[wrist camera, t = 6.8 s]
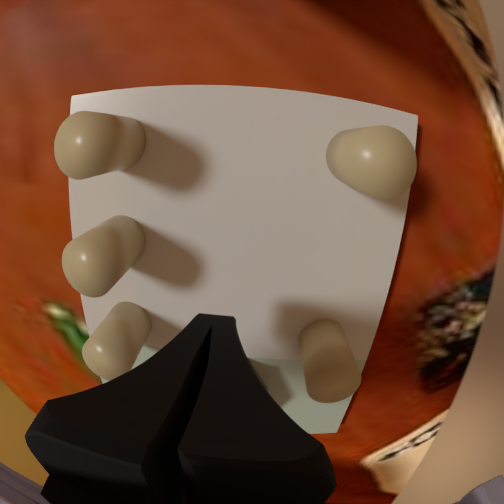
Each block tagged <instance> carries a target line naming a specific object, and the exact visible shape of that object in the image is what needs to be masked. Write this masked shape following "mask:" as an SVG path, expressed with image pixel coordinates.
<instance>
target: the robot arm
mask: <svg viewBox="0 0 504 504" xmlns="http://www.w3.org/2000/svg"><path fill="white" fill-rule="evenodd" d="M25 439H26V443H27V445H28V447H29V449H30V450H31V452H32V453H33V455H34V456H35V457H36V459H37V460H38V461H39V462H40V463H41V465H42V466H43V467H44V469H45V470H46V471H47V472H48V473H49V477H48V478H47V481H46V483H45V485H44V487H43V486H41V485H39V484H37V483H35V482H33V481H32V480H30V479H28V478H26V477H24V476H23V475H21V474H19V473H17V472H16V471H14V470H12V469H11V468H9V467H7V466H6V465H4V464H3V463H1V462H0V504H325V502H326V501H327V500H328V498H329V497H330V496H331V494H332V493H333V492H334V490H335V487H336V485H337V484H336V478H335V473H334V470H333V467H332V464H331V461H330V459H329V456H328V454H327V452H326V450H325V448H324V446H323V444H322V443H320V442H319V441H318V440H316V439H315V438H314V437H312V436H311V435H310V434H309V433H307V432H306V431H305V430H303V429H302V428H301V427H300V426H299V425H298V424H297V423H296V422H295V421H294V420H292V419H291V418H290V417H289V416H288V415H287V414H286V413H285V411H284V410H283V409H282V408H281V407H280V406H279V405H278V404H277V403H276V401H275V400H274V399H273V398H272V397H271V395H270V394H269V393H268V391H267V390H266V389H265V387H264V386H263V384H262V383H261V381H260V380H259V378H258V377H257V375H256V374H255V372H254V370H253V368H252V366H251V364H250V362H249V361H248V358H247V356H246V354H245V352H244V349H243V347H242V344H241V342H240V339H239V335H238V332H237V327H236V319H235V318H234V317H233V316H224V315H213V314H203V313H199V314H197V315H196V316H195V317H194V318H193V319H192V320H191V321H190V322H189V324H188V325H187V326H186V327H185V328H184V329H183V330H182V331H181V332H180V333H178V334H177V335H176V336H175V337H174V338H173V339H172V340H171V341H170V342H169V343H168V344H166V345H165V346H164V347H163V348H162V349H160V350H159V351H158V352H157V353H155V354H154V355H153V356H152V357H150V358H149V359H147V360H146V361H145V362H143V363H142V364H140V365H138V366H137V367H135V368H134V369H132V370H130V371H128V372H126V373H124V374H122V375H120V376H118V377H116V378H114V379H112V380H110V381H108V382H106V383H104V384H101V385H99V386H96V387H94V388H91V389H88V390H85V391H82V392H79V393H76V394H72V395H68V396H64V397H60V398H56V399H51V400H48V401H47V402H46V403H45V404H44V406H43V407H42V409H41V410H40V411H39V413H38V415H37V416H36V418H35V419H34V421H33V422H32V424H31V426H30V427H29V429H28V431H27V432H26V434H25ZM453 504H504V478H503V476H502V475H499V476H497V477H495V478H493V479H491V480H489V481H487V482H485V483H483V484H481V485H479V486H477V487H476V488H474V489H472V490H471V491H470V492H469V493H467V494H466V495H465V496H464V497H463V498H462V499H461V500H460V501H458V502H456V503H453Z"/></svg>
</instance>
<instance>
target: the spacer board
mask: <svg viewBox="0 0 504 504" xmlns="http://www.w3.org/2000/svg"><path fill="white" fill-rule="evenodd" d="M417 124H418V116H417V115H413V114H410V113H406V112H403V111H399V110H395V109H391V108H387V107H383V106H379V105H374V104H370V103H365V102H361V101H356V100H351V99H346V98H340V97H334V96H329V95H322V94H316V93H309V92H301V91H293V90H284V89H274V88H263V87H248V86H227V85H174V86H153V87H139V88H128V89H118V90H109V91H102V92H94V93H88V94H81V95H76V96H72V99H71V110H70V116H69V117H68V118H67V119H66V120H65V121H64V122H63V123H62V124H61V126H60V128H59V130H58V132H57V134H56V138H55V143H54V154H55V159H56V162H57V164H58V166H59V168H60V170H61V171H62V172H63V173H64V174H65V175H66V176H68V177H69V200H70V216H71V228H72V238H73V240H72V241H70V242H69V243H68V244H67V245H66V247H65V249H64V251H63V255H62V267H63V271H64V274H65V276H66V278H67V280H68V281H69V283H70V284H71V285H72V287H73V288H74V289H75V290H77V291H78V292H79V293H80V294H81V300H82V305H83V310H84V315H85V319H86V324H87V328H88V332H89V337H90V338H89V339H88V340H87V342H86V343H85V344H84V346H83V348H82V355H83V358H84V361H85V363H86V364H87V366H88V367H89V368H90V369H91V370H92V371H93V372H94V373H95V374H97V375H98V376H100V377H101V380H102V383H103V384H104V383H106V382H108V381H110V380H112V379H114V378H116V377H118V376H120V375H122V374H124V373H126V372H128V371H130V370H132V369H134V368H135V367H137V366H138V365H140V364H142V363H143V362H145V361H146V360H147V359H149V358H150V357H152V356H153V355H154V354H155V353H157V352H158V351H159V350H160V349H162V348H163V347H164V346H165V345H166V344H168V343H169V342H170V341H171V340H172V339H173V338H174V337H175V336H176V335H177V334H178V333H180V332H181V331H182V330H183V329H184V328H185V327H186V326H187V325H188V324H189V322H190V321H191V320H192V319H193V318H194V317H195V316H196V315H197V314H199V313H203V314H213V315H224V316H233V317H234V318H235V319H236V327H237V332H238V335H239V339H240V342H241V344H242V347H243V349H244V352H245V354H246V356H247V357H248V359H249V360H250V362H251V363H252V365H253V366H254V368H255V370H256V371H257V373H258V374H259V376H260V377H261V379H262V380H263V382H264V383H265V385H266V386H267V388H268V393H269V394H270V395H271V397H272V398H273V399H274V400H275V401H276V403H277V404H278V405H279V406H280V407H281V408H282V409H283V410H284V411H285V413H286V414H287V415H288V416H289V417H290V418H291V419H292V420H294V421H295V422H296V423H297V424H298V425H299V426H300V427H301V428H302V429H303V430H305V431H306V432H307V433H309V434H315V433H336V432H337V430H338V428H339V426H340V424H341V421H342V419H343V417H344V415H345V412H346V410H347V408H348V406H349V403H350V401H351V398H352V396H353V394H354V392H355V391H356V390H357V389H358V388H359V386H360V384H361V373H362V371H363V368H364V365H365V363H366V360H367V357H368V354H369V352H370V349H371V346H372V343H373V340H374V337H375V334H376V331H377V328H378V325H379V321H380V318H381V315H382V312H383V308H384V305H385V301H386V298H387V294H388V291H389V287H390V283H391V279H392V276H393V272H394V268H395V263H396V259H397V255H398V251H399V246H400V242H401V237H402V232H403V227H404V222H405V217H406V211H407V205H408V199H409V193H410V187H411V184H412V182H413V180H414V178H415V175H416V170H417V158H416V153H415V147H416V136H417Z"/></svg>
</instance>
